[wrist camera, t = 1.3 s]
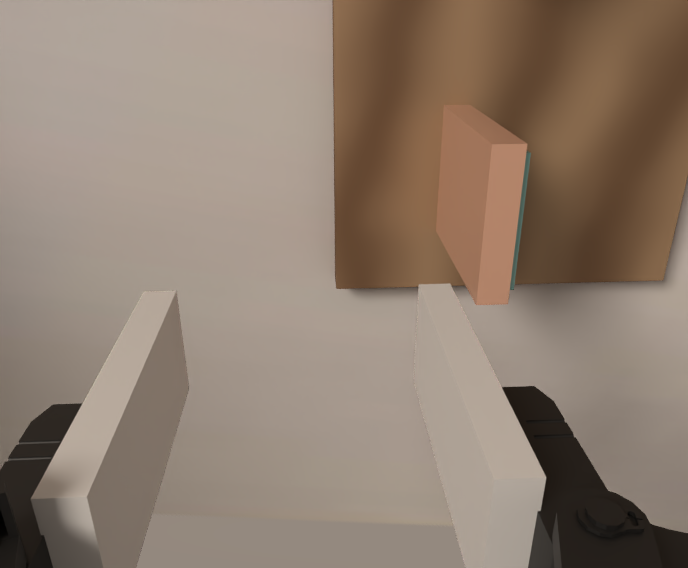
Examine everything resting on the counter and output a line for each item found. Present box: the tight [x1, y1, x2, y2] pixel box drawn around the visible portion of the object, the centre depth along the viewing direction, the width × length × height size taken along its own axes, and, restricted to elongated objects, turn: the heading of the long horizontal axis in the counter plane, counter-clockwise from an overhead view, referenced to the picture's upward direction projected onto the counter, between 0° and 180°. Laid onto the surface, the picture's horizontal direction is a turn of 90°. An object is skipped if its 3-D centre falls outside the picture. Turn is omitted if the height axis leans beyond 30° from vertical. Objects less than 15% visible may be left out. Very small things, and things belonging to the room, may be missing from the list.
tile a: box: [436, 105, 531, 305], centre depth 26 cm, size 2×6×8 cm, turn 0°
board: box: [333, 0, 688, 289], centre depth 27 cm, size 17×26×2 cm, turn 0°
